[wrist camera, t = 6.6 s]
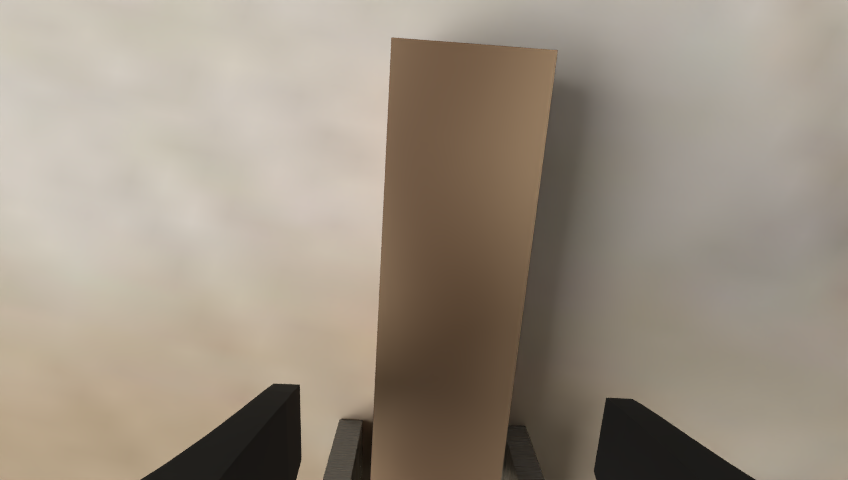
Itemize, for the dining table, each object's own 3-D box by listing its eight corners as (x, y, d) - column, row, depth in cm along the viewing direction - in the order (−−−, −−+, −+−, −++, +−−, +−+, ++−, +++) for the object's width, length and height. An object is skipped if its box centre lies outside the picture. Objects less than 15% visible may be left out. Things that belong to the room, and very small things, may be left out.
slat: (516, 73, 13) (557, 50, 9) (472, 470, 17) (488, 573, 13) (399, 64, 13) (391, 37, 9) (378, 464, 17) (366, 568, 13)
